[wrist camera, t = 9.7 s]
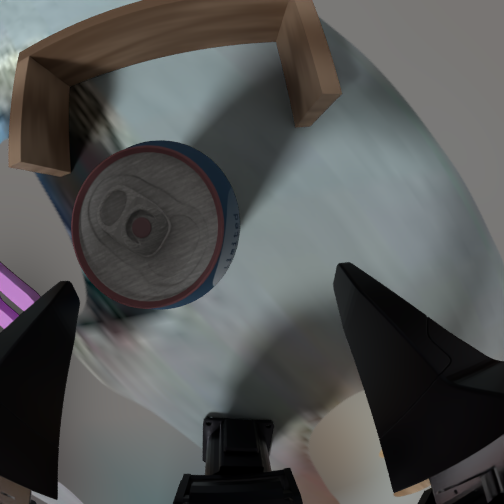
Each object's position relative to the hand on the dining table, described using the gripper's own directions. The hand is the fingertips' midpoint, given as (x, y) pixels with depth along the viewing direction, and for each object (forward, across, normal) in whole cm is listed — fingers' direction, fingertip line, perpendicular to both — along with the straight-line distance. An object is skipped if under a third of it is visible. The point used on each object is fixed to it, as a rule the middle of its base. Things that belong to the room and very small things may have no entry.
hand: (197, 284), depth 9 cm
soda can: (+12, +2, +4) cm, 13 cm away
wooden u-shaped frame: (+17, +3, -4) cm, 18 cm away
